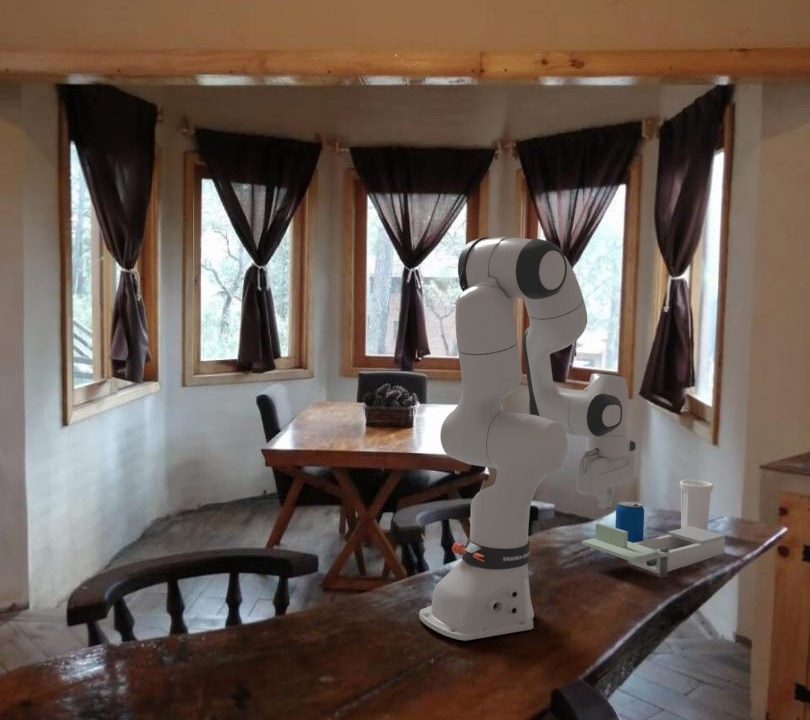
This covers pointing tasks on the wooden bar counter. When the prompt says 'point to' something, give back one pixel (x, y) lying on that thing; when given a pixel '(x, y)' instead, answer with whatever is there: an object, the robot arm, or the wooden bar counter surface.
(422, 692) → the wooden bar counter surface
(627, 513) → the beverage can
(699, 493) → the cup
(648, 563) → the cord
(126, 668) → the wooden bar counter surface
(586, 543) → the cover
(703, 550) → the white open box
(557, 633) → the wooden bar counter surface
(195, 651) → the wooden bar counter surface
